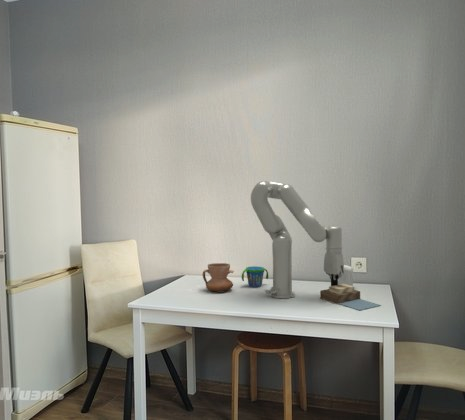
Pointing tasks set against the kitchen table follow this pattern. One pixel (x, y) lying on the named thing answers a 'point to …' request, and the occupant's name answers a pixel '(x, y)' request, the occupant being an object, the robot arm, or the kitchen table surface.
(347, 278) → the white upright block
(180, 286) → the kitchen table surface
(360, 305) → the slate mat
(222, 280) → the ceramic jug
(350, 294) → the block
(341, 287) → the birch tile
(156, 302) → the kitchen table surface
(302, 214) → the robot arm
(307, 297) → the kitchen table surface
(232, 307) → the kitchen table surface
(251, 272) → the snack cup
